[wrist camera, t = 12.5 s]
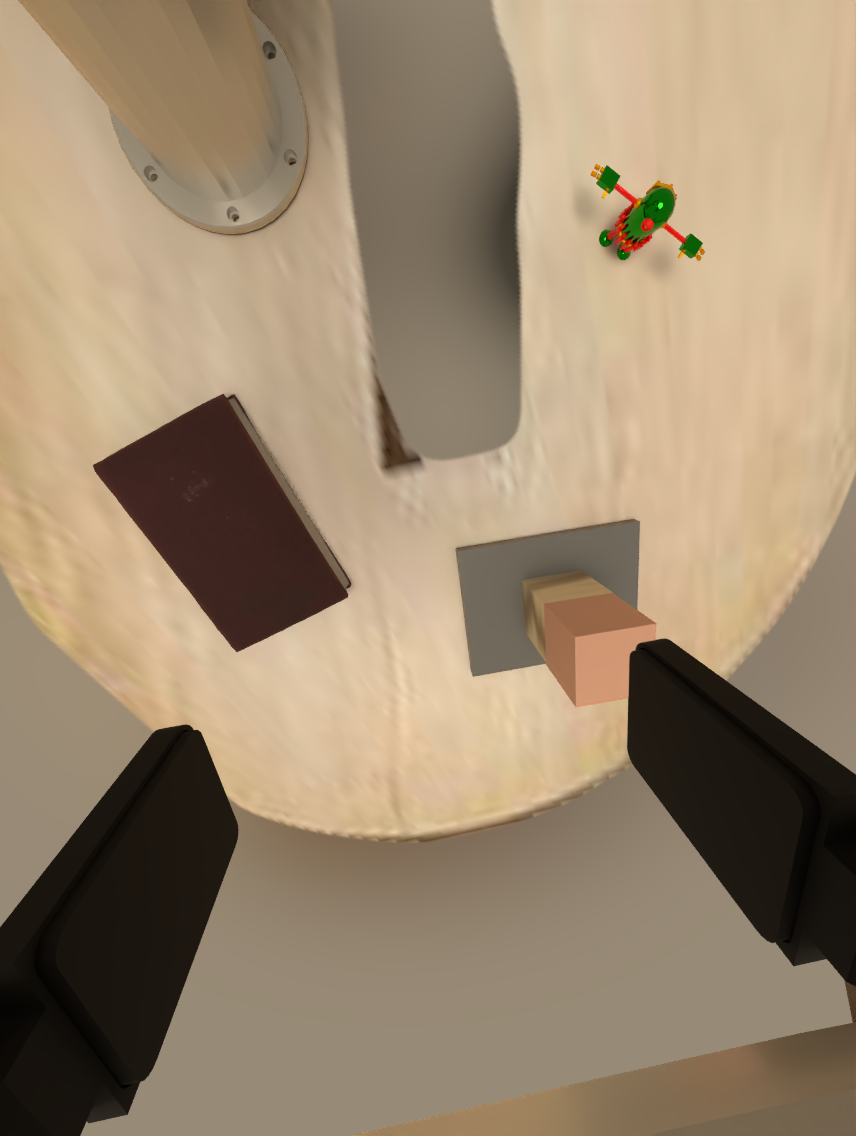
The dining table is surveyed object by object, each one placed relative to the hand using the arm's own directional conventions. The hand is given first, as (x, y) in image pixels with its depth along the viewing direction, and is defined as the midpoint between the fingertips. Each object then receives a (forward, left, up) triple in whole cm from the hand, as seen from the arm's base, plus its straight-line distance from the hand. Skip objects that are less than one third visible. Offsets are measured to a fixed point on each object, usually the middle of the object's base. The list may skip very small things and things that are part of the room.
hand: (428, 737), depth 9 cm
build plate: (+12, +14, -30) cm, 35 cm away
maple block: (+12, +14, -29) cm, 35 cm away
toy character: (-19, +22, -31) cm, 42 cm away
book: (0, -14, -31) cm, 34 cm away
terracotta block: (+12, +14, -23) cm, 30 cm away
